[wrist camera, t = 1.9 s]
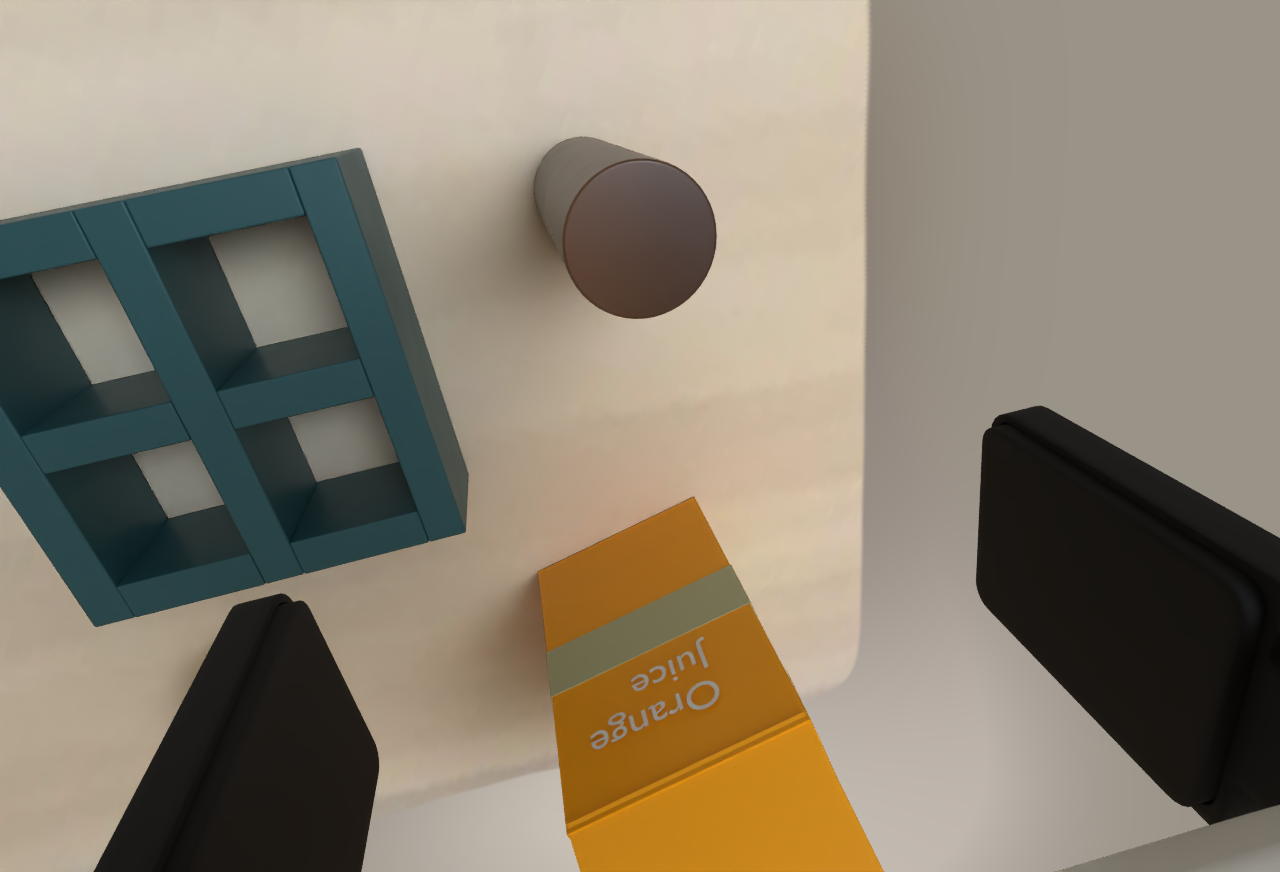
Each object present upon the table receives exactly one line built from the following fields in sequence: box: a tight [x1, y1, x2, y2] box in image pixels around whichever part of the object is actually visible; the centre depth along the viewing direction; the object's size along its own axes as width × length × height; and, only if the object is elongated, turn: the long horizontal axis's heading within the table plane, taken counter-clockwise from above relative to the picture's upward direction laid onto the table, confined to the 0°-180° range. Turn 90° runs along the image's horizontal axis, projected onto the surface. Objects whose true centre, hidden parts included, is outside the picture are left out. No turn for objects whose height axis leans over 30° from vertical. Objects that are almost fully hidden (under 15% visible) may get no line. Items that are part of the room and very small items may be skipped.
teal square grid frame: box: [0, 148, 468, 627], centre depth 27 cm, size 14×14×5 cm
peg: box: [534, 137, 717, 319], centre depth 24 cm, size 4×4×12 cm
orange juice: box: [538, 497, 884, 872], centre depth 29 cm, size 8×9×20 cm
